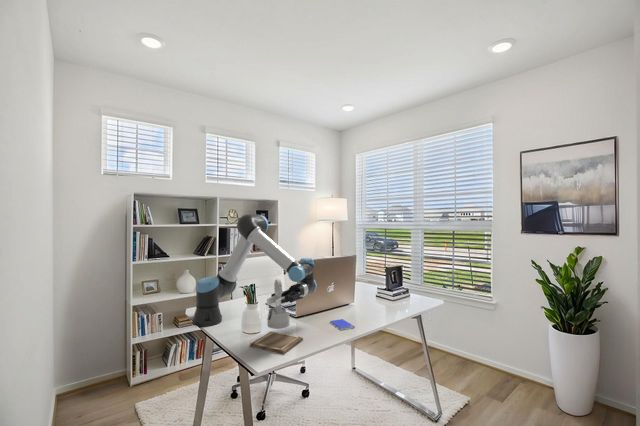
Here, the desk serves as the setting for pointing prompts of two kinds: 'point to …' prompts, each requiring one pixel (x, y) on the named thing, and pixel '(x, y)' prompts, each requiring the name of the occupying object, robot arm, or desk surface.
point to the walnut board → (277, 342)
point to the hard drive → (342, 324)
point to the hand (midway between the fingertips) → (272, 302)
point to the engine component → (278, 311)
